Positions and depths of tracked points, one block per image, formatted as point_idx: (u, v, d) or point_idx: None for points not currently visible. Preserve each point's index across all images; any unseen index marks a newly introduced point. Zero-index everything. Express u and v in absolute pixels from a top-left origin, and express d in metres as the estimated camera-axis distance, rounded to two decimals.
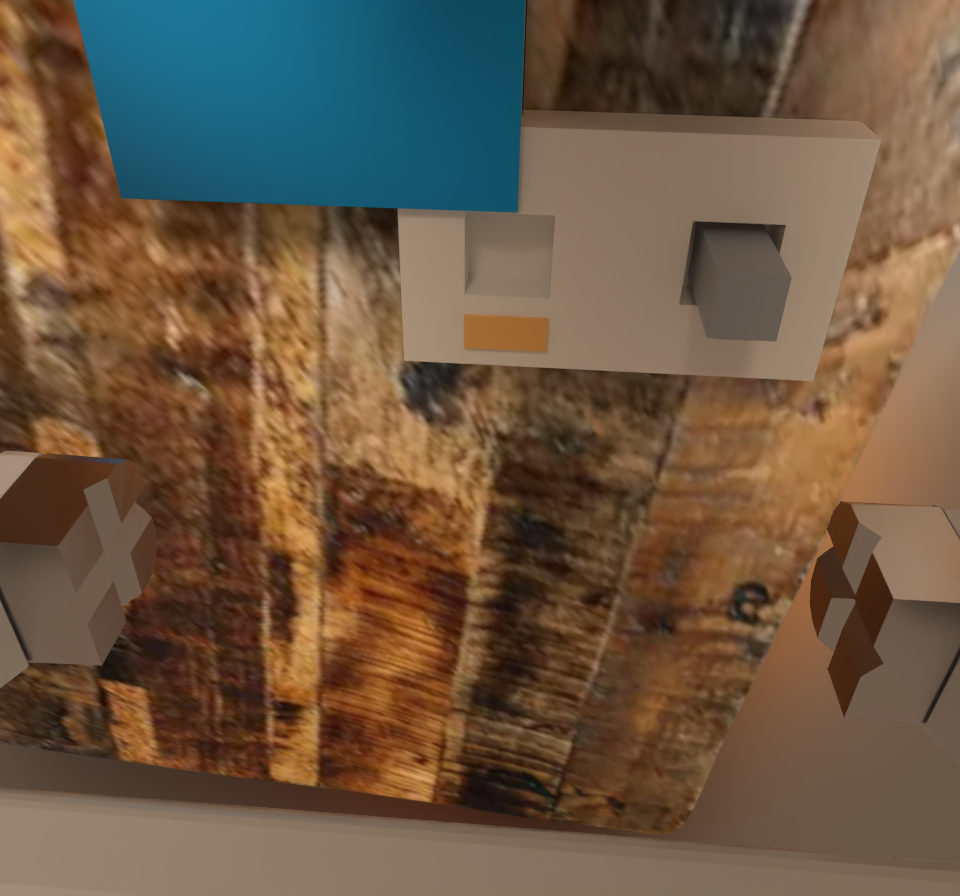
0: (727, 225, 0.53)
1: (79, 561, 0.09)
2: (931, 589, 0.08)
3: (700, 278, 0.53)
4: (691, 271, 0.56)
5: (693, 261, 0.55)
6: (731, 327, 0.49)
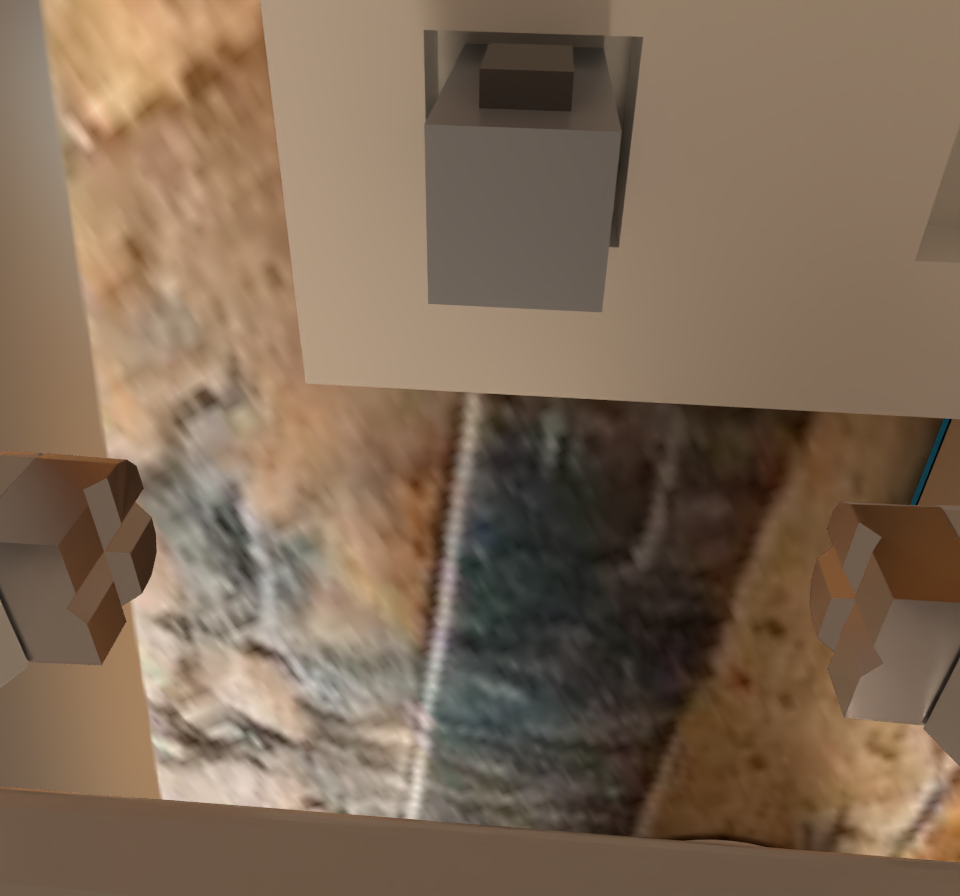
0: None
1: (80, 561, 0.09)
2: (931, 589, 0.08)
3: None
4: None
5: None
6: (554, 169, 0.18)
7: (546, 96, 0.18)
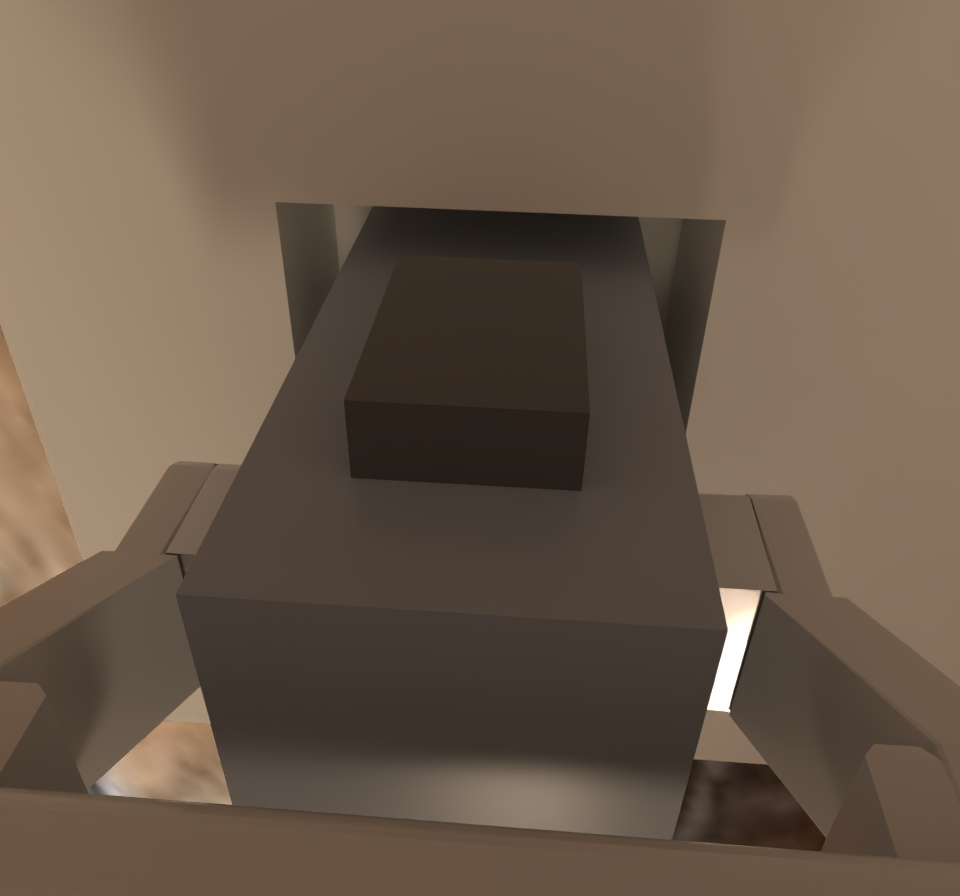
0: None
1: None
2: (717, 576, 0.08)
3: None
4: None
5: None
6: (539, 690, 0.07)
7: (519, 460, 0.07)
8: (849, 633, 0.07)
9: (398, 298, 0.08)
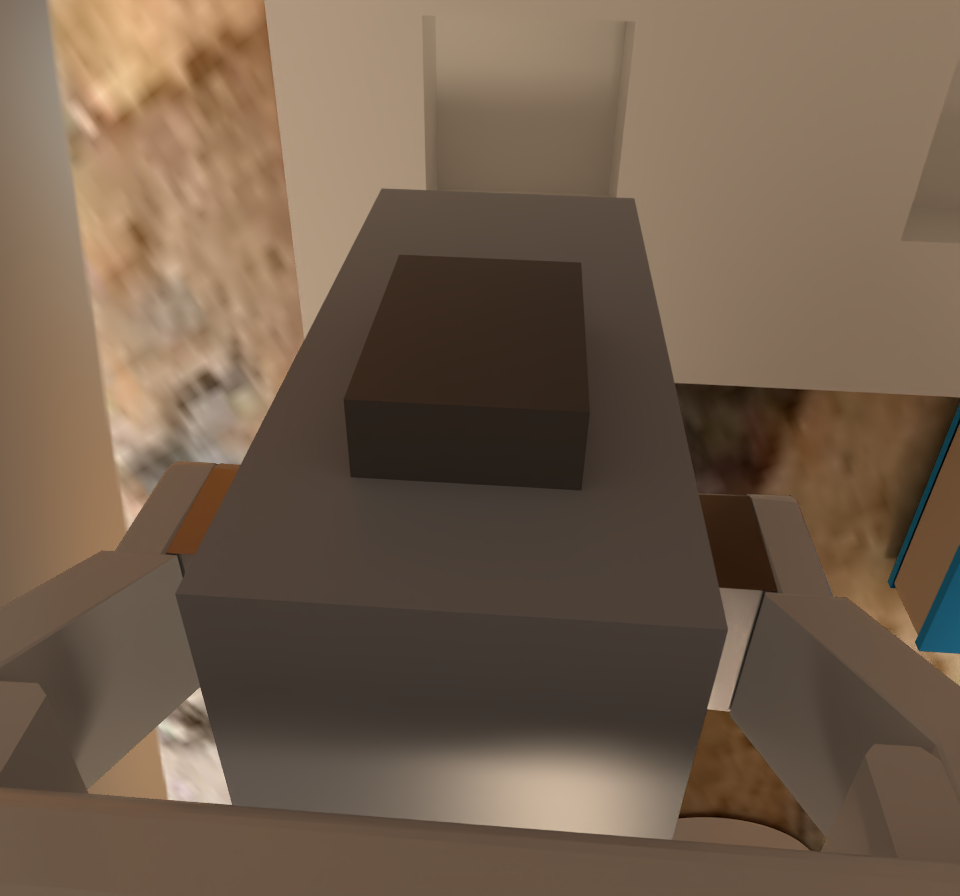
0: None
1: None
2: (717, 576, 0.08)
3: None
4: None
5: None
6: (538, 689, 0.07)
7: (519, 459, 0.07)
8: (850, 634, 0.07)
9: (398, 297, 0.08)
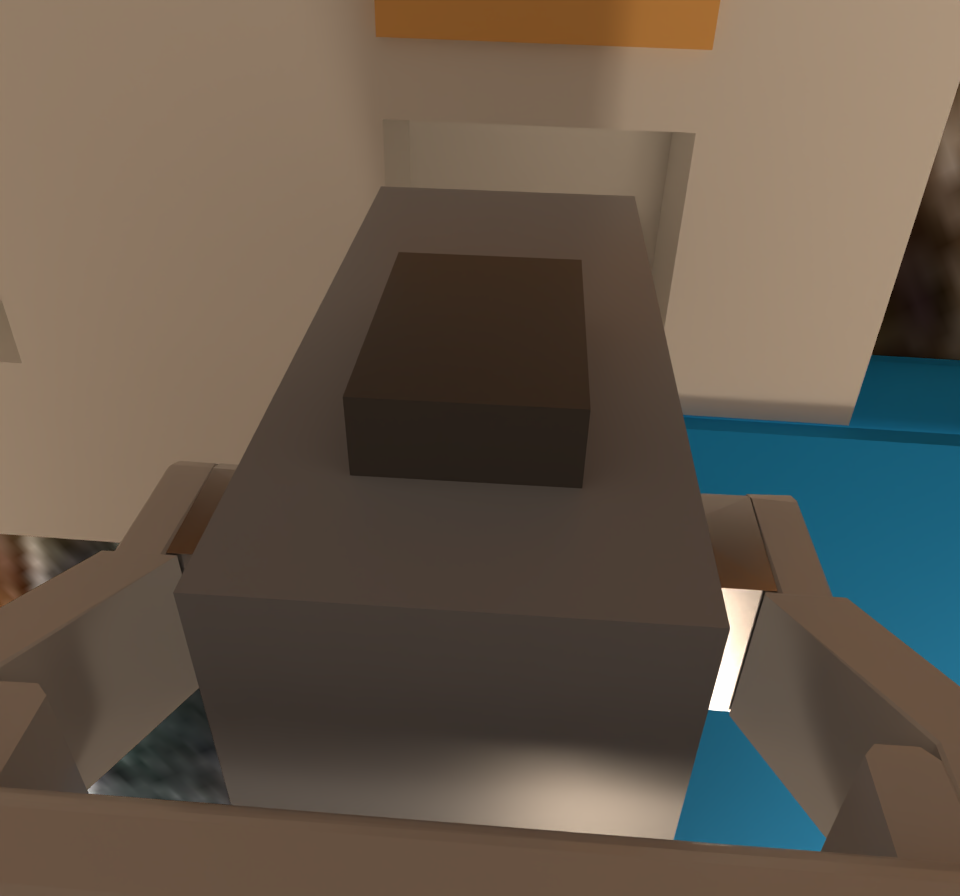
0: None
1: None
2: None
3: None
4: None
5: None
6: (538, 688, 0.06)
7: (519, 457, 0.07)
8: (848, 633, 0.07)
9: (397, 294, 0.08)
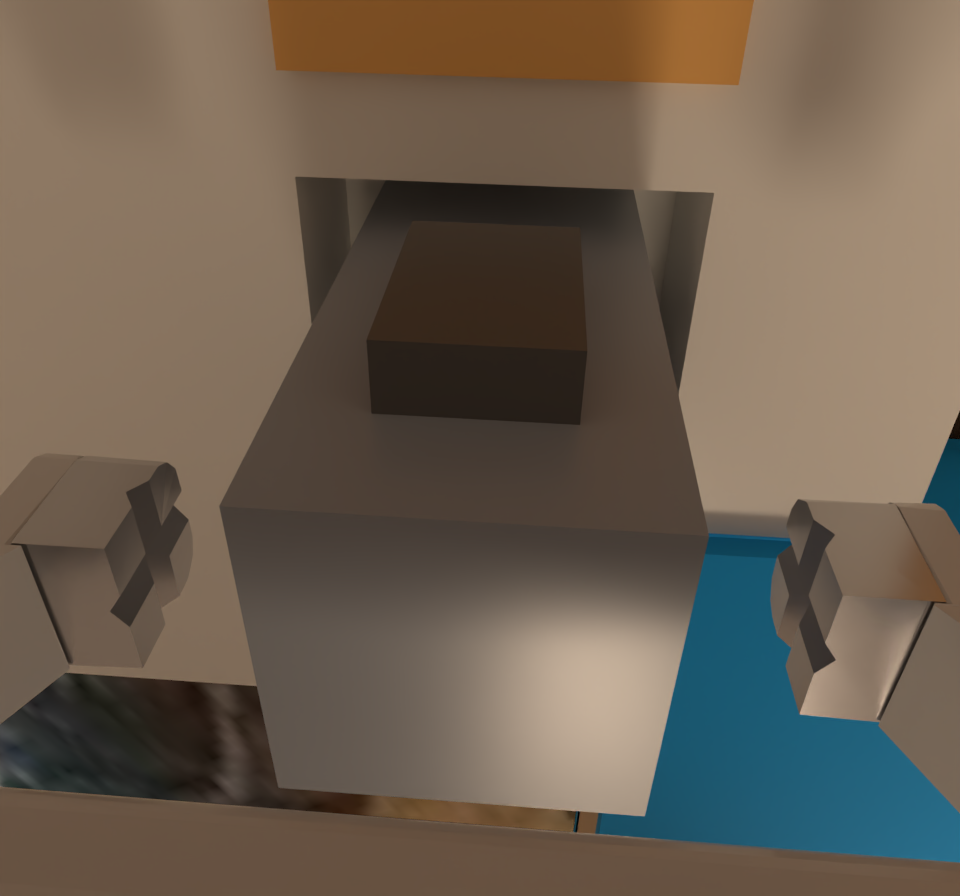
0: None
1: (123, 564, 0.09)
2: (881, 586, 0.08)
3: None
4: None
5: None
6: (541, 596, 0.07)
7: (523, 396, 0.08)
8: None
9: (412, 256, 0.09)
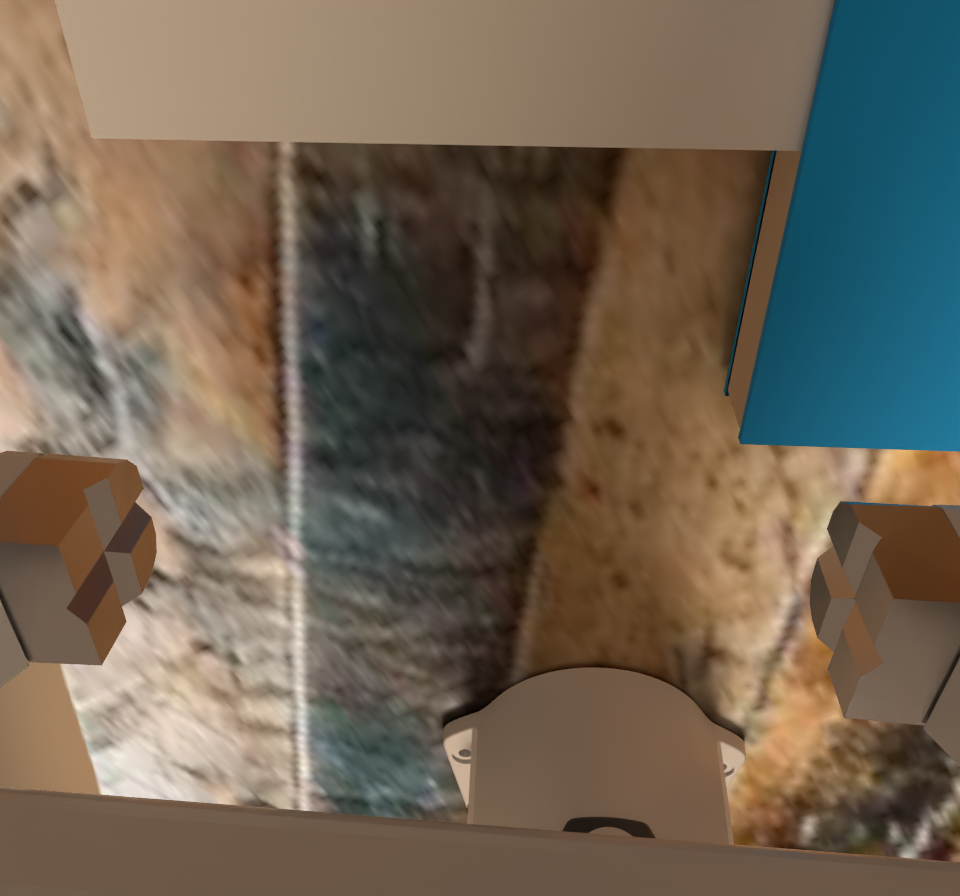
0: None
1: (79, 561, 0.09)
2: (931, 589, 0.08)
3: None
4: None
5: None
6: None
7: None
8: None
9: None
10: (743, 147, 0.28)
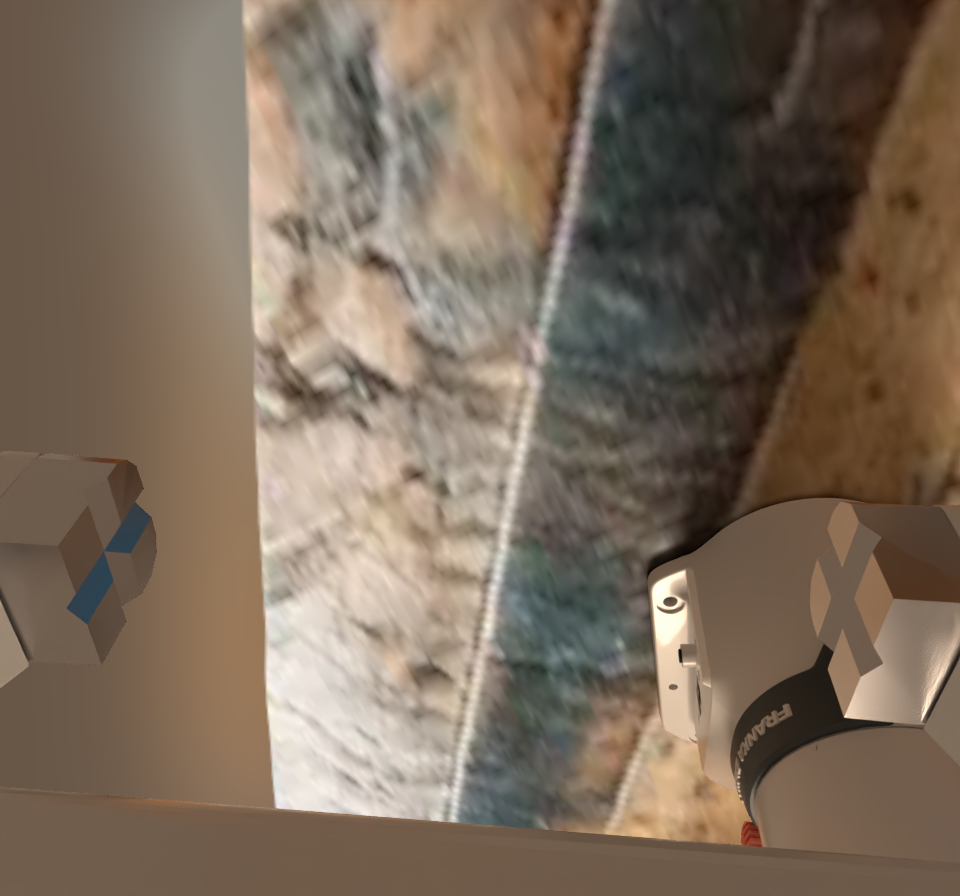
0: None
1: (79, 561, 0.09)
2: (931, 589, 0.08)
3: None
4: None
5: None
6: None
7: None
8: None
9: None
10: None
